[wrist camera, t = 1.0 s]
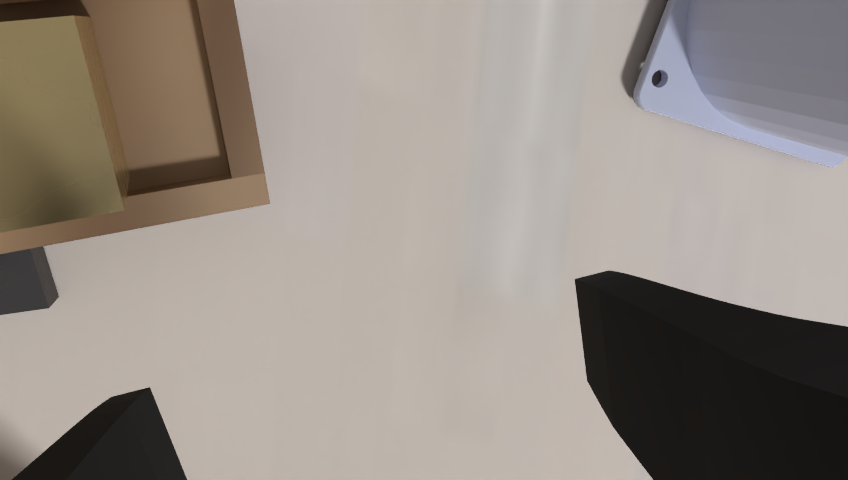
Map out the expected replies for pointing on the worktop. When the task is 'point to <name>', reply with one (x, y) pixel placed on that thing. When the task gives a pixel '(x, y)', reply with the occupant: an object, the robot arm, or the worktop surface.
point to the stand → (26, 281)
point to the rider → (56, 126)
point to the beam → (165, 112)
